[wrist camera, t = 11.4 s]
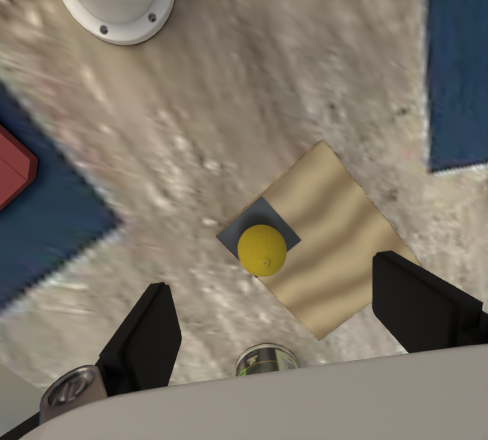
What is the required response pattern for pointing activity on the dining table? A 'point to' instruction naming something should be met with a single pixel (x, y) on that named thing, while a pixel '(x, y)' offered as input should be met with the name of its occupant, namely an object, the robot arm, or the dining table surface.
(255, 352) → the coffee can
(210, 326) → the dining table surface
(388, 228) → the board
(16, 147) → the red sloped ramp
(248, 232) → the lemon
